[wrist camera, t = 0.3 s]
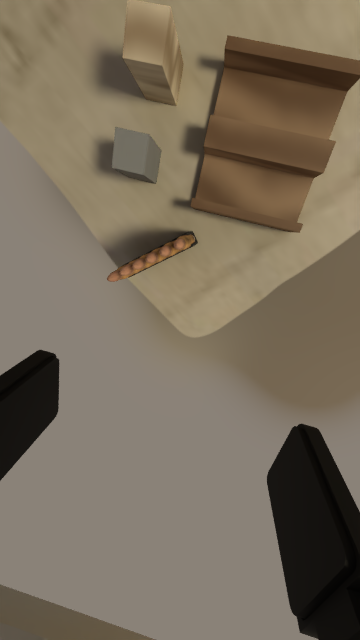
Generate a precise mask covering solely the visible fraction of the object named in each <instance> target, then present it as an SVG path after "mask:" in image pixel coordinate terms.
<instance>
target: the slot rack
mask: <svg viewBox="0 0 360 640" xmlns="http://www.w3.org/2000/svg"><path fill="white" fill-rule="evenodd" d="M359 78H360V61H358V60H353V59H348V58H343V57H338V56H332V55H327V54H322V53H317V52H312V51H306V50H301V49H296V48H291V47H286V46H280V45H275V44H270V43H265V42H259V41H254V40H249V39H244V38H239V37H233V36H227V41H226V45H225V60H224V71H223V75H222V80H221V84H220V89H219V93H218V98H217V102H216V107H215V111H214V115H210V119H209V124H208V128H207V133H206V137H205V142H204V151H205V156H204V161H203V165H202V170H201V174H200V179H199V183H198V188H197V192H196V197H195V198H192V202H191V207H192V208H193V209H197V210H201V211H205V212H209V213H214V214H218V215H222V216H226V217H230V218H234V219H239V220H243V221H247V222H251V223H255V224H259V225H264V226H268V227H272V228H276V229H280V230H284V231H289V232H299V233H300V230H301V228H302V225H303V224H301V223H297V220H298V217H299V215H300V212H301V210H302V207H303V204H304V202H305V199H306V197H307V194H308V192H309V189H310V186H311V184H312V181H313V179H314V178H315V177H317V176H319V175H320V174H322V173H324V170H325V168H326V165H327V163H328V160H329V158H330V155H331V153H332V150H333V148H334V145H335V143H336V141H332V140H329V137H330V135H331V132H332V130H333V127H334V125H335V122H336V119H337V117H338V114H339V112H340V109H341V106H342V104H343V101H344V99H345V96H346V94H347V91H348V90H349V89H350V88H351V87H352V86H353V85H354V84H355V83H356V82H357V81H358V80H359Z"/></svg>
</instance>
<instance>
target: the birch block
mask: <svg viewBox="0 0 360 640" xmlns="http://www.w3.org/2000/svg"><path fill="white" fill-rule="evenodd" d="M122 58H123V60H124V61H125V63H126V65H127V67H128V68H129V70H130V72H131V74H132V75H133V77H134V79H135V81H136V82H137V84H138V86H139V88H140V89H141V91H142V93H143V95H144V96H145V98H146V99H147V100H151V101H156V102H161V103H166V104H170V105H175V106H177V100H178V94H179V88H180V82H181V76H182V70H183V60H182V55H181V51H180V46H179V42H178V37H177V33H176V28H175V24H174V19H173V15H172V10H171V7H170V6H165V5H159V4H154V3H149V2H143V1H138V0H128V3H127V14H126V24H125V35H124V46H123V56H122Z"/></svg>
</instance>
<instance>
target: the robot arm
mask: <svg viewBox="0 0 360 640" xmlns="http://www.w3.org/2000/svg"><path fill="white" fill-rule="evenodd" d="M58 400H59V359H57V358H56V355H55V354H54V353H50V352H47V351H43V350H38V351H36V352H35V353H33V354H32V355H30V356H29V357H28V358H26V359H25V360H23V361H21V362H20V363H18V364H17V365H15V366H14V367H12V368H11V369H9V370H8V371H7V372H5V373H4V374H2V375H1V376H0V480H1V479H2V478H3V477H4V476H5V475H6V473H7V472H8V471H9V470H10V469H11V468H12V467H13V465H14V464H15V463H16V462H17V461H18V460H19V459H20V457H21V456H22V455H23V454H24V453H25V452H26V451H27V449H28V448H29V447H30V446H31V445H32V444H33V442H34V441H35V440H36V439H37V438H38V437H39V436H40V434H41V433H42V432H43V431H44V430H45V429H46V428H47V426H48V425H49V424H50V423H51V422H52V420H54V418H55V417H56V415H57V412H58ZM267 485H268V490H269V496H270V501H271V507H272V512H273V517H274V523H275V528H276V533H277V539H278V544H279V550H280V555H281V561H282V566H283V571H284V577H285V582H286V587H287V592H288V598H289V603H290V607H291V610H292V613H293V614H294V615H295V616H297V619H298V625H299V630H300V633H302V634H305V635H308V636H311V637H315V638H317V639H319V640H360V512H359V510H358V508H357V506H356V504H355V502H354V500H353V498H352V496H351V493H350V492H349V489H348V488H347V485H346V483H345V481H344V479H343V477H342V475H341V473H340V471H339V469H338V467H337V465H336V463H335V461H334V459H333V457H332V455H331V453H330V451H329V449H328V447H327V445H326V443H325V441H324V439H323V437H322V435H321V433H320V431H319V430H318V429H317V428H315V427H311V426H308V425H304V424H299V425H298V426H297V427H296V426H294V427H293V428H292V430H291V431H290V434H289V435H288V437H287V439H286V441H285V443H284V444H283V446H282V448H281V450H280V452H279V454H278V455H277V457H276V459H275V461H274V463H273V464H272V466H271V468H270V470H269V472H268V475H267ZM0 640H155V639H152V638H149V637H147V636H144V635H141V634H138V633H135V632H133V631H130V630H127V629H124V628H121V627H119V626H116V625H113V624H110V623H107V622H105V621H102V620H99V619H96V618H93V617H90V616H88V615H85V614H82V613H79V612H77V611H74V610H71V609H68V608H65V607H62V606H60V605H57V604H54V603H51V602H48V601H45V600H43V599H39V598H37V597H34V596H31V595H28V594H26V593H23V592H20V591H17V590H14V589H11V588H8V587H6V586H3V585H0Z"/></svg>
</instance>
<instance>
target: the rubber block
mask: <svg viewBox="0 0 360 640" xmlns="http://www.w3.org/2000/svg"><path fill="white" fill-rule="evenodd" d="M160 157H161V149H160V148H159V147H158V145H157V144H156V143H155V141H154V140H153V139H152V137H151V136H150V135H149V134H145V133H141V132H136V131H132V130H127V129H123V128H118V127H115V137H114V147H113V158H112V168H113V169H115V170H117V171H119V172H121V173H122V174H124V175H126V176H128V177H130V178H134V179H138V180H143V181H147V182H151V183H155V184H156V182H157V175H158V169H159V163H160Z"/></svg>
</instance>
